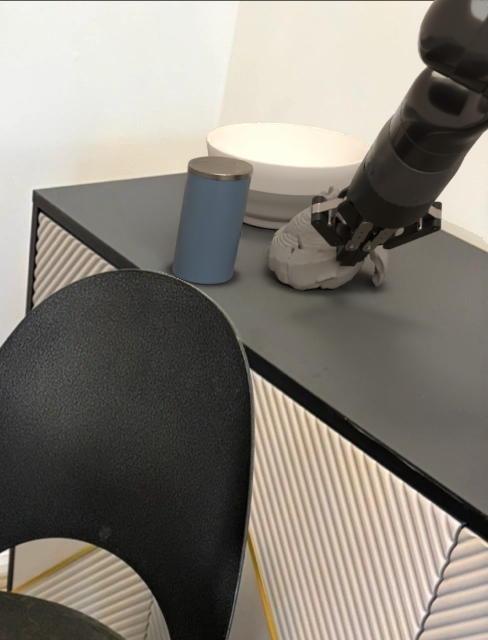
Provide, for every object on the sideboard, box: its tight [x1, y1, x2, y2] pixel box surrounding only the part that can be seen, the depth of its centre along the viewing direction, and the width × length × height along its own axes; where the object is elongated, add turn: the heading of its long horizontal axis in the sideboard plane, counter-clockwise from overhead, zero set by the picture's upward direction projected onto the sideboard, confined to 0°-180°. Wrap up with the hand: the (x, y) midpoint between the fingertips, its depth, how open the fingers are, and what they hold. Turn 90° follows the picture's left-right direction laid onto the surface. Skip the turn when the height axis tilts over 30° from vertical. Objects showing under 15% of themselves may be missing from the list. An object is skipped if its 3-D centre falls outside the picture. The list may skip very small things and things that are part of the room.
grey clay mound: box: [266, 186, 389, 291], centre depth 119 cm, size 12×12×11 cm
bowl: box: [205, 121, 371, 230], centre depth 135 cm, size 19×19×8 cm
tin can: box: [171, 155, 254, 285], centre depth 118 cm, size 7×7×11 cm
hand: (346, 257), depth 115 cm, fingers closed
